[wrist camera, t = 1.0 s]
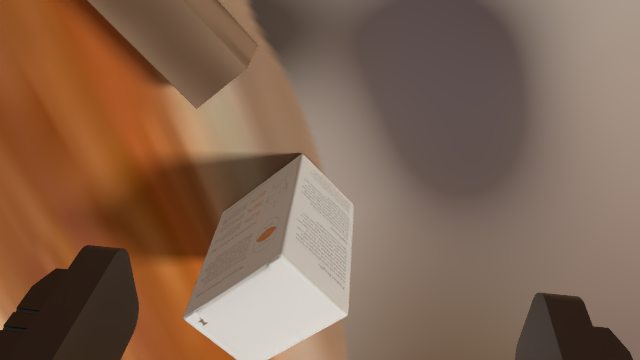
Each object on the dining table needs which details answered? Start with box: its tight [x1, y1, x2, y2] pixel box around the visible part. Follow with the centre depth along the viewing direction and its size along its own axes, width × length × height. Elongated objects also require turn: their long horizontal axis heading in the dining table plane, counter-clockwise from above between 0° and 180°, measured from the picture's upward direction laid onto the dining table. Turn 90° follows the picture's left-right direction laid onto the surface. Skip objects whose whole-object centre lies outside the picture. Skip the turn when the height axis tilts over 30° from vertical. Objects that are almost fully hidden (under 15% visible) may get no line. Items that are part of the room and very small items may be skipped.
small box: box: [183, 154, 354, 360], centre depth 36 cm, size 8×6×10 cm
